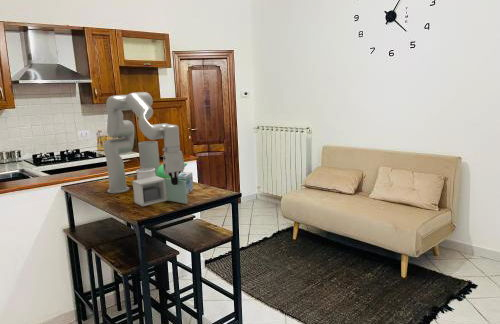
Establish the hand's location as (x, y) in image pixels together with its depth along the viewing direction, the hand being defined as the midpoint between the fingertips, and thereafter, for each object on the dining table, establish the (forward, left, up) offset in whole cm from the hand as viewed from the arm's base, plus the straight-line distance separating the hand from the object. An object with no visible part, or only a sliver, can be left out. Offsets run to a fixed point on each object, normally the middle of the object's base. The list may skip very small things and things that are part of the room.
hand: (174, 184), depth 194 cm
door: (-3, +3, -10) cm, 11 cm away
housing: (-15, -7, -11) cm, 20 cm away
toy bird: (-42, +20, -11) cm, 48 cm away
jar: (-29, -2, -11) cm, 31 cm away
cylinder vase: (-65, +17, -11) cm, 68 cm away
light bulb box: (-18, +16, -11) cm, 26 cm away
